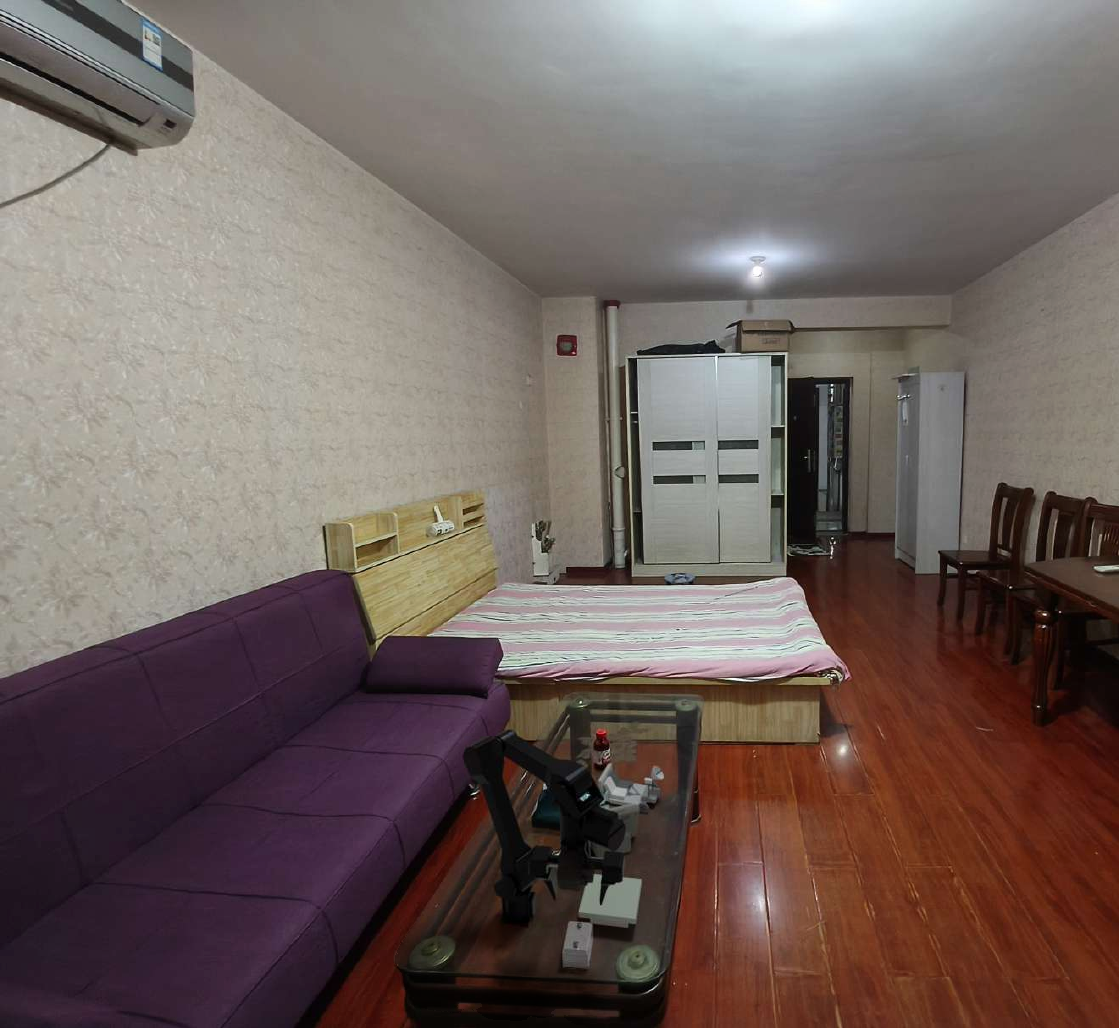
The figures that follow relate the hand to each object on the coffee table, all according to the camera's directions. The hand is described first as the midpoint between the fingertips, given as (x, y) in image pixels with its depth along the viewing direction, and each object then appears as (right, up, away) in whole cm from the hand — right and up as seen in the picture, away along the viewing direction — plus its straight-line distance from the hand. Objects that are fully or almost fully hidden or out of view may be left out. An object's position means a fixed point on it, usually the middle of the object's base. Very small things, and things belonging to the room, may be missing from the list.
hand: (578, 902), depth 132 cm
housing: (0, -11, +1) cm, 11 cm away
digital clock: (+9, -6, +34) cm, 36 cm away
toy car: (+17, -3, +54) cm, 57 cm away
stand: (+8, -9, +12) cm, 17 cm away
